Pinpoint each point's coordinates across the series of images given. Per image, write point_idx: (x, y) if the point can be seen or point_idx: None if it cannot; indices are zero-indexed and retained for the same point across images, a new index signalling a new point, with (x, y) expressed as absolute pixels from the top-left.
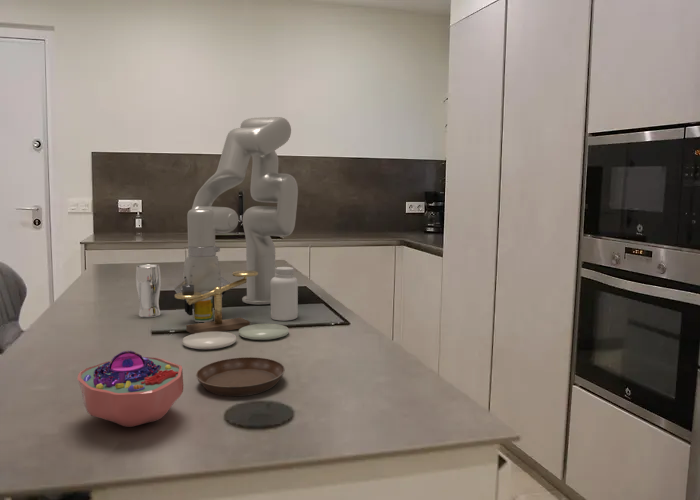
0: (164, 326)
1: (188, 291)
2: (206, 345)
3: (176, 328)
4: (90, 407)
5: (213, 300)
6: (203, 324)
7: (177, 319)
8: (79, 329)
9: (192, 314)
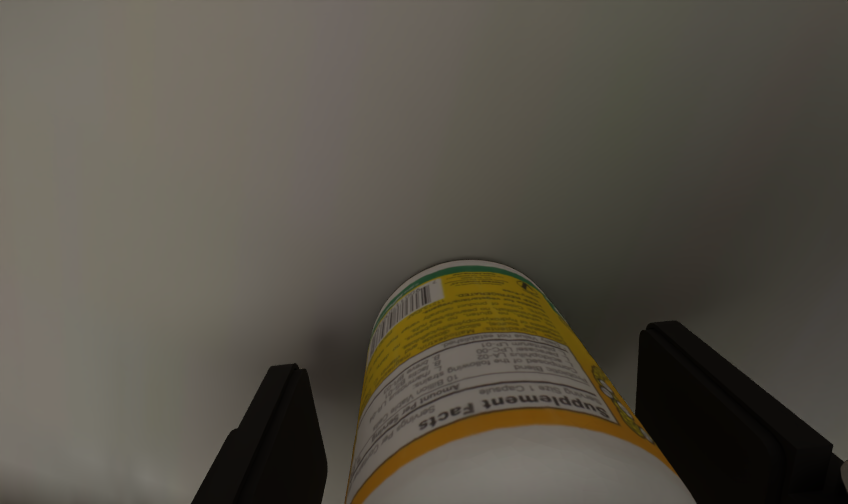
0: (69, 395)
1: None
2: None
3: (179, 493)
4: None
5: (727, 410)
6: None
7: (213, 167)
8: None
9: (326, 470)
